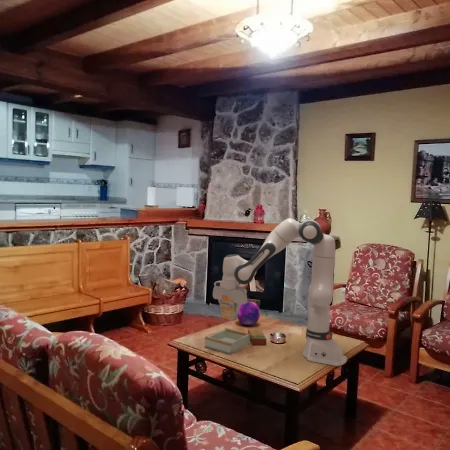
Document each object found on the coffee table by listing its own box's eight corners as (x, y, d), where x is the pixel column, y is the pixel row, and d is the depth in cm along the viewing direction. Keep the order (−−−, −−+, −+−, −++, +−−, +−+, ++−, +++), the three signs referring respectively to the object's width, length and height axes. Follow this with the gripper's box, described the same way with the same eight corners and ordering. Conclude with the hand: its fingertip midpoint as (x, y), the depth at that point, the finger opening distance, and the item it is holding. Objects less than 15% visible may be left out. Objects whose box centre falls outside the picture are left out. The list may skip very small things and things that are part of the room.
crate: (249, 344, 245) (250, 334, 245) (229, 354, 228) (230, 343, 228) (225, 337, 254) (225, 327, 254) (204, 347, 237) (204, 336, 237)
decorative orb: (251, 330, 270) (252, 305, 269) (231, 324, 279) (232, 301, 278) (264, 324, 282) (265, 301, 281) (244, 319, 291) (245, 297, 290)
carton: (261, 336, 260) (261, 329, 260) (266, 346, 244) (267, 338, 244) (247, 336, 259) (247, 329, 259) (251, 346, 243) (252, 338, 243)
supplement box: (220, 318, 241) (221, 294, 240) (225, 316, 244) (226, 293, 243) (232, 321, 236) (233, 297, 235) (237, 319, 240) (238, 295, 238)
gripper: (249, 286, 235) (248, 311, 236) (218, 280, 246) (217, 304, 248) (243, 288, 230) (242, 314, 231) (211, 282, 241) (210, 307, 242)
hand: (229, 309), depth 239 cm, fingers closed on supplement box, 8 cm apart
